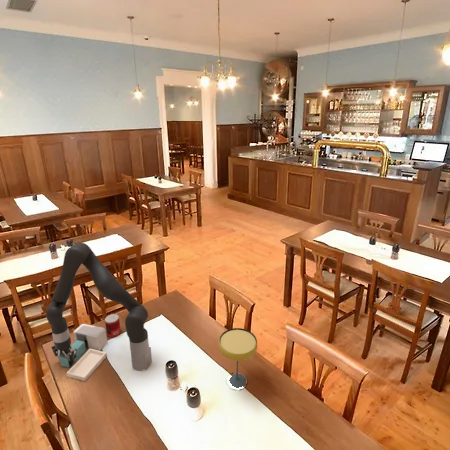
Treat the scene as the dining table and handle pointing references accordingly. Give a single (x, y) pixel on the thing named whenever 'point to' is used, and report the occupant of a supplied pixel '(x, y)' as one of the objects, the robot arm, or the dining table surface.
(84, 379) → the tray
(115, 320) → the canned food
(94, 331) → the box
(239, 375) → the cocktail glass
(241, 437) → the dining table surface
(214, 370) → the dining table surface
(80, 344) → the teal box
